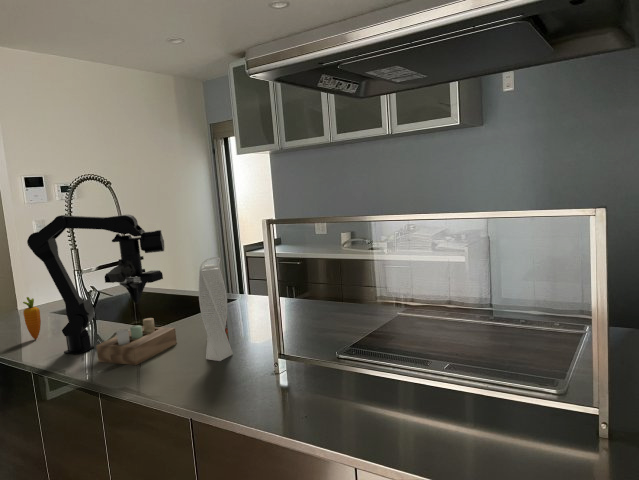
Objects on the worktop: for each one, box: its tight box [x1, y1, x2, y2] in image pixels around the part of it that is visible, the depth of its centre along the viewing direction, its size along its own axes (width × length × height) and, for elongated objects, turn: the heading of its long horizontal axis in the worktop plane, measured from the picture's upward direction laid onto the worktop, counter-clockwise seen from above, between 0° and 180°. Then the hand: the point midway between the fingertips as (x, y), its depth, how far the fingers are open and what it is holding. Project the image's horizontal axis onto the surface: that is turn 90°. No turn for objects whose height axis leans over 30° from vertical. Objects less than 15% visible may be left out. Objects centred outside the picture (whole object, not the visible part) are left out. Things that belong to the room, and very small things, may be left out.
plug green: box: [129, 325, 143, 339], centre depth 152 cm, size 3×3×6 cm
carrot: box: [22, 296, 42, 340], centre depth 175 cm, size 5×5×15 cm
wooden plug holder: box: [95, 326, 178, 366], centre depth 152 cm, size 14×18×5 cm
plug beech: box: [142, 317, 156, 333], centre depth 157 cm, size 3×3×6 cm
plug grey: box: [116, 328, 130, 345], centre depth 146 cm, size 3×3×6 cm
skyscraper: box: [198, 256, 234, 362], centre depth 141 cm, size 8×8×28 cm
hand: (136, 303), depth 160 cm, fingers closed
